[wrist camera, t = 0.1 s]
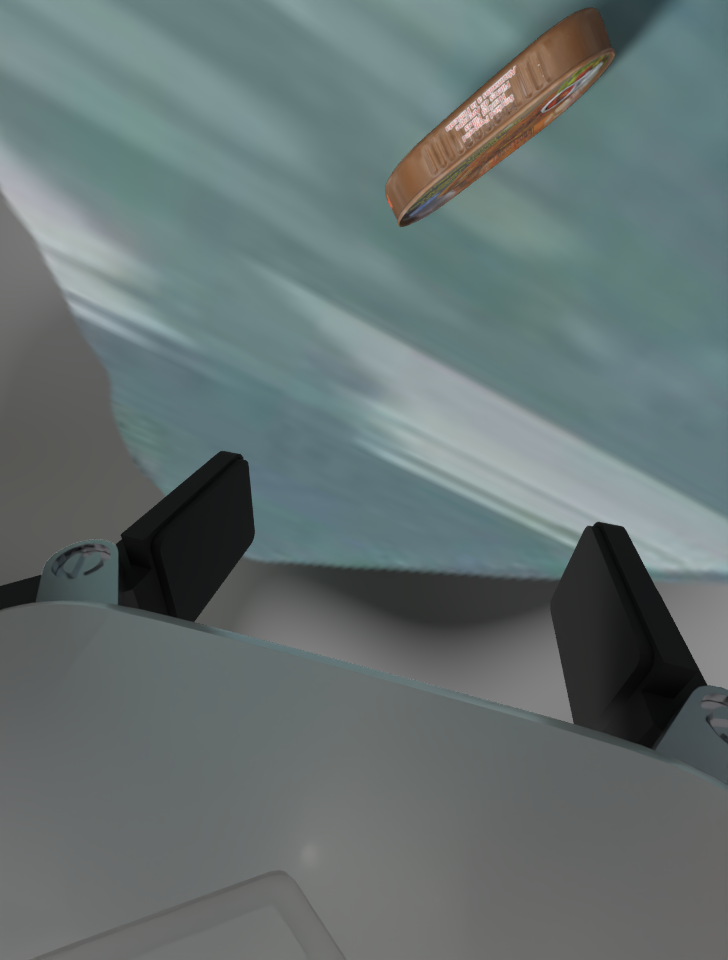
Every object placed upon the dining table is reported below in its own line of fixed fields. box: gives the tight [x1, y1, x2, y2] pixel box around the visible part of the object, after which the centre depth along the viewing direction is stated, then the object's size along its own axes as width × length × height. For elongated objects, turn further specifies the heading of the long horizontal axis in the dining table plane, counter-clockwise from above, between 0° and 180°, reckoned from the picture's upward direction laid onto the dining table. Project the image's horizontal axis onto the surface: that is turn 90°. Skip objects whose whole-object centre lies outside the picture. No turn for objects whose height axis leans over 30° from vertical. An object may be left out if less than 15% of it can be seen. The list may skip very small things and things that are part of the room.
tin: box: [385, 8, 615, 227], centre depth 27 cm, size 15×3×8 cm, turn 124°
